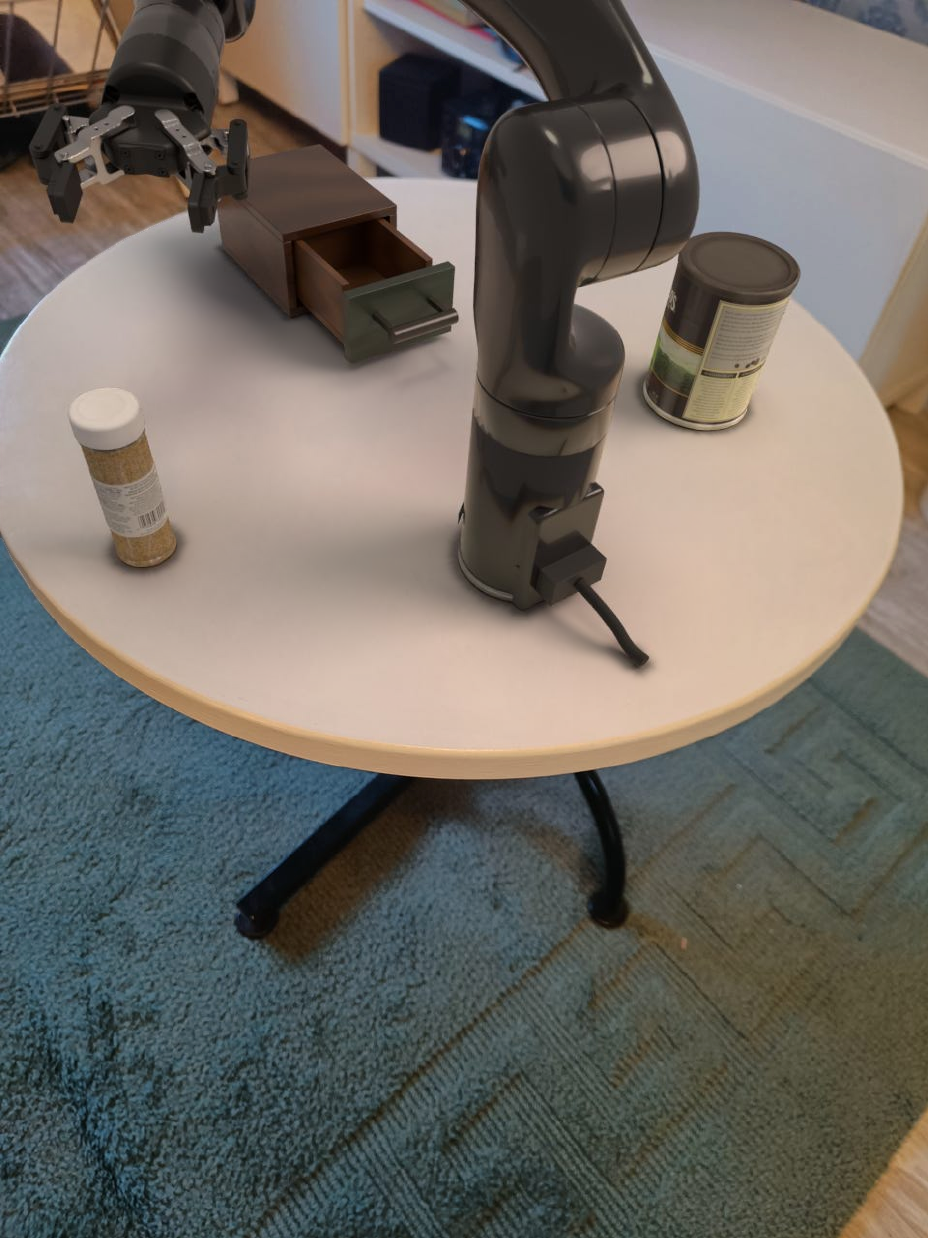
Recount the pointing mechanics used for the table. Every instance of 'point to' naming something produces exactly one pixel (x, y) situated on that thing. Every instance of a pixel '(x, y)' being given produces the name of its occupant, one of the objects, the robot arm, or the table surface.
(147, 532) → the sprinkles bottle
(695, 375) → the coffee can
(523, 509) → the robot arm
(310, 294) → the drawer
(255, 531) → the table surface
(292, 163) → the cabinet
